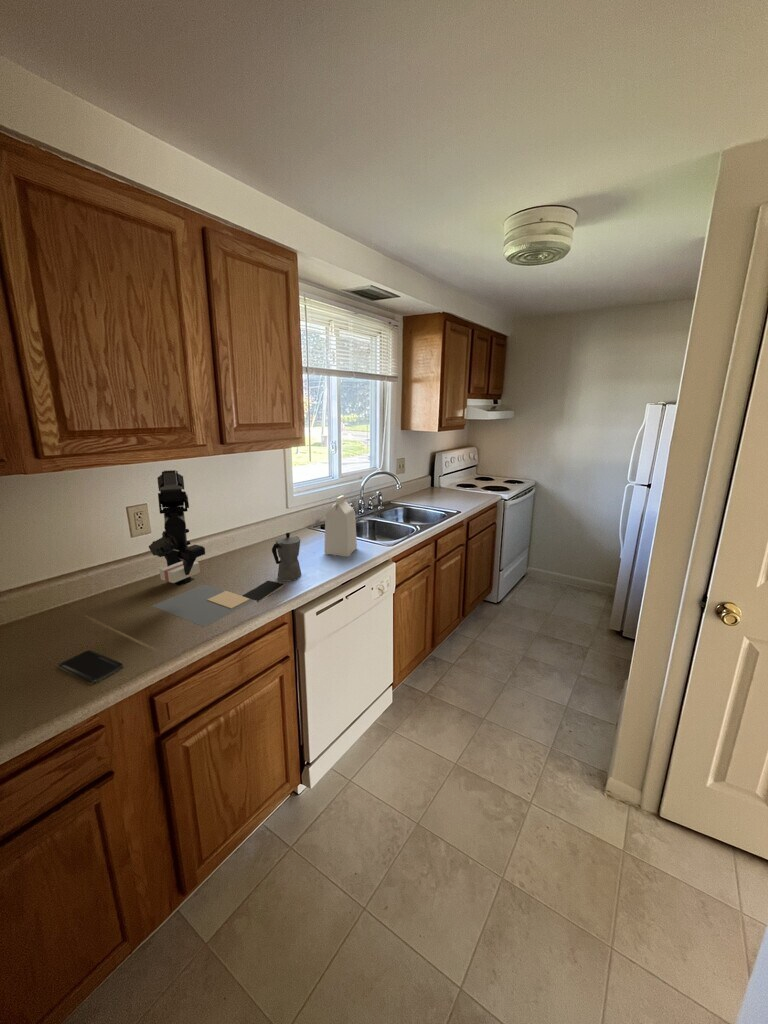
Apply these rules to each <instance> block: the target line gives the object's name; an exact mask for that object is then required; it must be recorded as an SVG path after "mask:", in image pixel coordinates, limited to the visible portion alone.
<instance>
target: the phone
mask: <svg viewBox="0 0 768 1024" xmlns="http://www.w3.org/2000/svg"><path fill="white" fill-rule="evenodd" d="M123 665H124V664H123V662H119V661H117V660H115V659H112V658H110V657H108V656H106V655H104V654H101V653H99V652H96V651H94V650H92V649H89V650H85V651H83V652H81V653H79V654H77V655H75V656H73V657H70V658H68V659H67V660H64V661H62V662H60V663H59V664H58V667H59V669H60V670H61V671H63V672H66V673H67V674H69V675H72V676H74V677H75V676H76V678H77V677H78V678H77V679H79V678H80V680H81V679H82V680H81V681H83V680H85V681H87V682H89V683H95V684H97V683H96V682H98V683H99V681H100V680H102V679H103V680H105V679H106V678H105V677H107V676H109V675H111V674H112V675H114V674H115V673H114V672H116V673H118V672H120V671H121V670H122V668H124V666H123ZM120 669H121V670H120ZM119 670H120V671H119ZM117 671H118V672H117ZM113 673H114V674H113ZM112 675H111V676H112ZM109 677H110V676H109ZM104 678H105V679H104ZM107 678H108V677H107ZM103 680H102V681H103ZM85 681H84V682H85ZM87 682H86V683H87ZM100 682H101V681H100ZM89 683H88V684H89Z"/></svg>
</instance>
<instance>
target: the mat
mask: <svg viewBox="0 0 768 1024" xmlns="http://www.w3.org/2000/svg"><path fill="white" fill-rule="evenodd" d="M253 602H255V600H252V599H249V598H246V597H243V596H242V595H239V594H238V593H234V592H230V591H227V590H222V589H219V588H216V587H212V586H210V585H207V584H203V583H202V584H200V585H199V586H196V587H193V588H191V589H189V590H187V591H185V592H181V593H179V594H177V595H175V596H172V597H169V598H167V599H165V600H162V601H160V602H157V603H156V604H153V605H151V607H153V608H156V609H158V610H161V611H163V612H165V613H168V614H171V615H173V616H176V617H178V618H181V619H183V620H186V621H188V622H191V623H193V624H196V625H198V626H201V627H203V628H205V627H207V626H209V625H210V624H212V623H215V622H217V621H218V620H220V619H222V618H224V617H226V616H228V615H230V614H232V613H234V612H236V611H237V610H239V609H240V610H241V608H243V607H246V606H247V605H250V604H251V603H253Z"/></svg>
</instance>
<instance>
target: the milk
mask: <svg viewBox="0 0 768 1024" xmlns="http://www.w3.org/2000/svg"><path fill="white" fill-rule="evenodd" d="M324 517H325V518H324V550H323V551H324V552H323V553H325V554H324V555H328V554H334V555H333V556H336V555H341V556H340V557H345V556H348V557H350V556H351V555H352V554H353V553H354V552H355V551H356V550H357V549H358V544H357V543H358V542H357V541H358V539H357V522H356V521H357V519H356V511H355V509H354V508H353V507H352V506H351V505H350V504H349V503H348V502H347V501H346V497H345V495H340V496H338V497H336V500H335V503H333V504H332V505H331V508H330V509H329V510H328V511H327V512H326V513H325V516H324ZM356 548H357V549H356ZM355 549H356V550H355ZM354 550H355V551H354ZM353 551H354V552H353ZM352 552H353V553H352ZM351 553H352V554H351ZM350 554H351V555H350Z"/></svg>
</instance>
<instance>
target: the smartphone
mask: <svg viewBox="0 0 768 1024" xmlns="http://www.w3.org/2000/svg"><path fill="white" fill-rule="evenodd" d="M283 586H284V587H285V584H284V583H283V582H278V581H273V580H266V581H264V582H262V583H260V584H259V585H257V586H256V587H254V588H253V589H251V590H249V591H247V592H246V593H244V594H242V595H241V596H243V597H246V598H249V599H250V600H253V601H256V603H260V602H262V601H263V600H265V599H266V598H268V597H269V595H270V596H272V595H273V594H274V593H276V592H277V590H278V591H279V590H281V589H282V588H283ZM280 588H281V589H280ZM275 591H276V592H275ZM272 593H273V594H272Z"/></svg>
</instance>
